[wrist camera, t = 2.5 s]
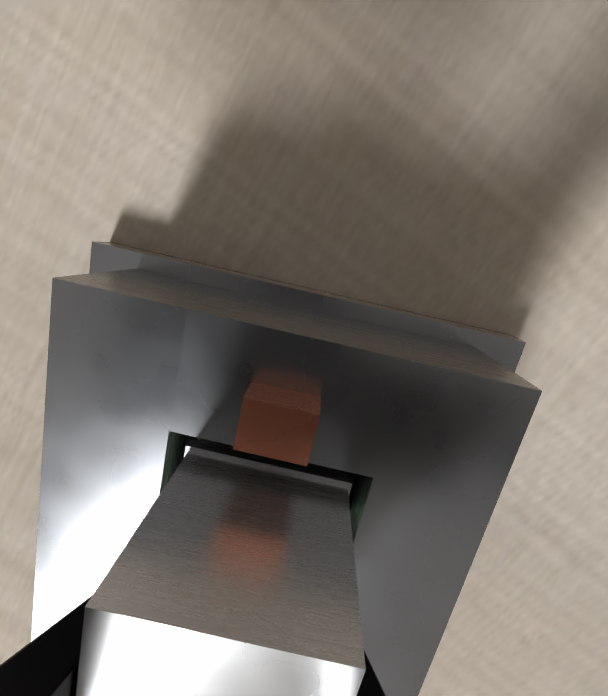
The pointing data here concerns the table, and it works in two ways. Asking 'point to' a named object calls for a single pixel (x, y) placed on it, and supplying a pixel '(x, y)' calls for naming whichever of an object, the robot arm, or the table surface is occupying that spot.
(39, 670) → the robot arm
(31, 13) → the table surface
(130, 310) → the housing
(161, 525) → the column
